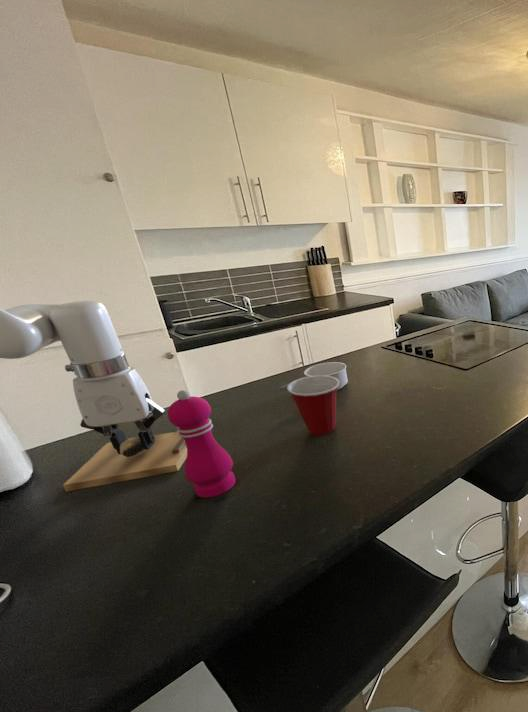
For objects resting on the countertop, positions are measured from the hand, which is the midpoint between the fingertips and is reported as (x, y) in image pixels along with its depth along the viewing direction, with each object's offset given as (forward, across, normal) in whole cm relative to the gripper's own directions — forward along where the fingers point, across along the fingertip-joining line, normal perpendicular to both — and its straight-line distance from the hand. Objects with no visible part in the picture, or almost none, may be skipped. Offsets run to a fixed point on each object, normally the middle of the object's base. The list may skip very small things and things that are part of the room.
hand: (136, 447), depth 85 cm
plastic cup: (+3, +36, -1) cm, 36 cm away
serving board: (+3, 0, 0) cm, 3 cm away
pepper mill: (+3, +18, -17) cm, 25 cm away
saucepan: (+3, +33, +23) cm, 40 cm away
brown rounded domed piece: (+1, 0, 0) cm, 1 cm away
